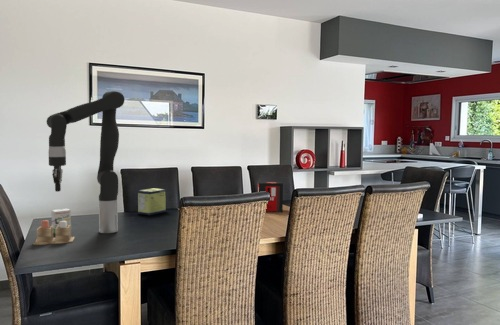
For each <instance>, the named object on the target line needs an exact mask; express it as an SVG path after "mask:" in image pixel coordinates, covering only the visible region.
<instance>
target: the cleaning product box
mask: <svg viewBox="0 0 500 325" xmlns="http://www.w3.org/2000/svg"><path fill="white" fill-rule="evenodd" d="M260 191H266V192H269V193H270V201H269V202H268V204H267V209H266V212H265V213H283V210H284V209H283V202H284V182H282V181H257V193H258V192H260Z"/></svg>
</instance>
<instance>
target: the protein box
mask: <svg viewBox="0 0 500 325" xmlns="http://www.w3.org/2000/svg"><path fill="white" fill-rule="evenodd" d="M166 201H167V199H166V189H164V188H158V187H153V188H146V189H140V190H137V206H138V207H137V209H138V210H137V213H138V214H139V215H146V216H153V215H157V214H161V213H166V212H167V211H166ZM138 214H137V215H138Z"/></svg>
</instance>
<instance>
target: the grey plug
mask: <svg viewBox="0 0 500 325" xmlns="http://www.w3.org/2000/svg"><path fill="white" fill-rule="evenodd" d="M59 224H60V228H67V221H60V222H59Z"/></svg>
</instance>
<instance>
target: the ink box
mask: <svg viewBox="0 0 500 325" xmlns="http://www.w3.org/2000/svg"><path fill="white" fill-rule="evenodd" d="M71 214H72V212H71V209H69V208H59V209H52V210H51V226H53V234H55V228H56V227H57V226H60V224H59V222H60V221H67V225H71V226H72V220H71V218H72V217H71V216H72V215H71Z"/></svg>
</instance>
